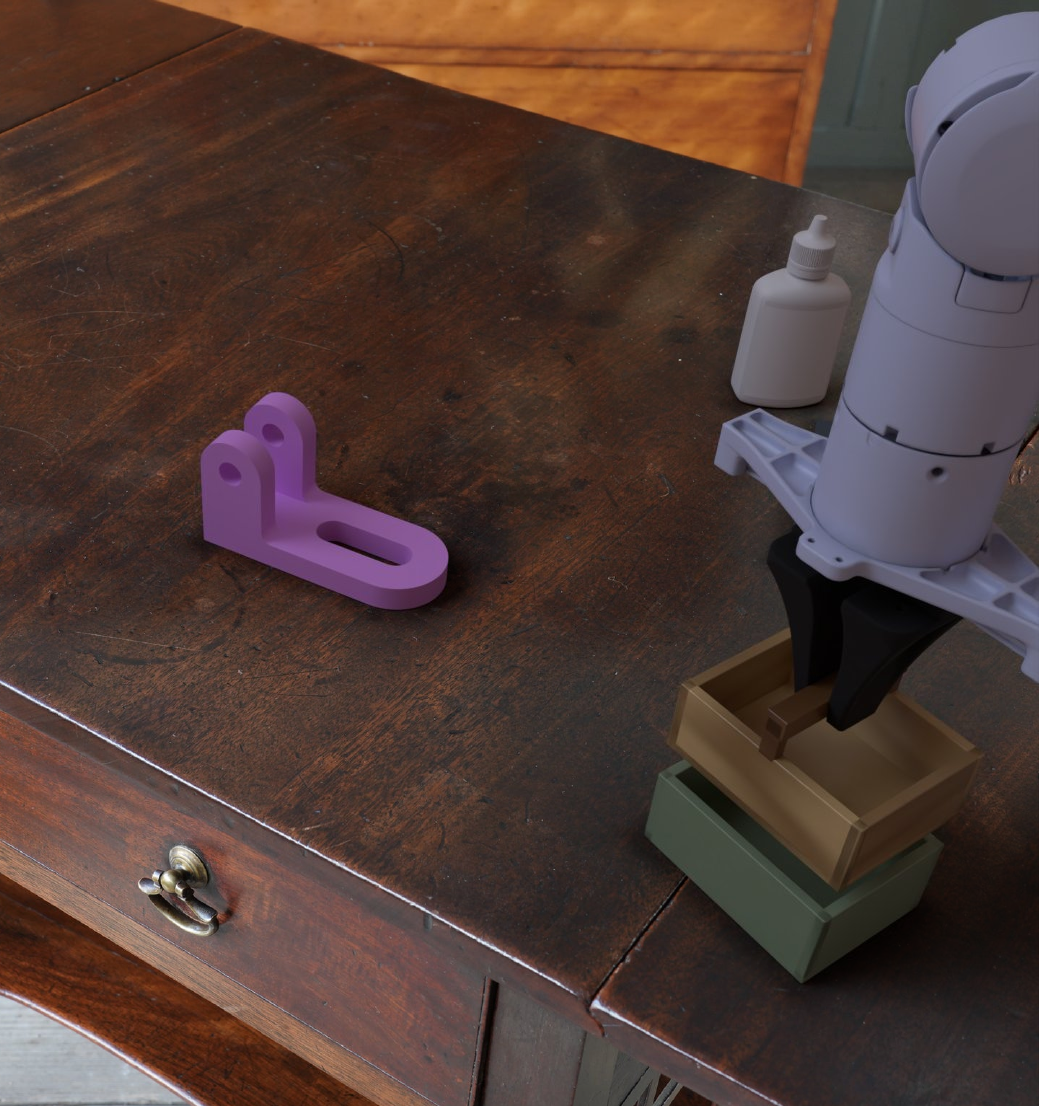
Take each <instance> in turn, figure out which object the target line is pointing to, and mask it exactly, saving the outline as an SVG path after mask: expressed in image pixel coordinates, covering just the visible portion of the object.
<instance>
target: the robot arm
mask: <svg viewBox="0 0 1039 1106" xmlns="http://www.w3.org/2000/svg"><path fill="white" fill-rule="evenodd" d="M904 122H905V132H906V137H907V142H908V144H909V148H910V151H911V153H912V154H913V165H914V173H915V175H914V176H912V177H910V178H909V179H908V180H907V182H906V185H905V189H904V192H903V196H902V198H901V202H900V206H899V208H898V210H897V211H896V212H895V214H894V216H893V219H892V221H891V224H890V229H889V234H888V246H887V248H886V249H885V250H884V252H883V254H882V256H881V257H880V259H879V260H878V263H877V264H876V268H875V270H874V275H873V278H872V282H871V286H870V290H869V293H868V297H867V300H866V303H865V307H864V309H863V310H864V311H863V313H862V314H863V315H862V318H861V321H860V325H859V329H858V332H857V336H856V339H855V342H854V344H853V345H854V346H853V349H852V353H851V356H850V359H849V362H848V363H849V364H848V367H847V370H846V373H845V378H844V381H843V383H842V389H841V392H840V396H839V400H838V403H837V407H836V410H835V413H834V416H833V421H832V422H833V424H832V427H831V431H830V434H829V438H827V437H824V436H821V435H818V434H815V433H814V432H812V431H810V430H807V429H804V428H802V427H799V426H797V425H794V424H792V423H789V422H787V421H785V420H783V419H781V418H778V417H776V416H775V415H772V414H771V413H770V412H768V411H766V410H764V409H762V408H761V407H758V408H756V409H753V410H750V411H749V412H746V413H743V414H742V415H739V416H736V417H735V418H733V419H730V420H728V421H726V422H723V423H722V426H721V430H720V435H719V439H718V443H717V448H716V452H715V457H714V462H713V465H714V466H715V467H717V468H719V470H721V471H723V472H725V473H726V474H727V475H729V476H732V477H738V476H741V475H744V474H745V473H746V474H748V475H749V476H750V477H752V478H754V479H755V480H757V481H758V482H760V483H761V484H762V485H764V486H766V487H767V489H769V491H770V492H771V494H772V495H773V496H774V497H775V499H776V500H777V501H778V502H779V504H780V505H781V506H782V507H783V509H785V511H786V512H787V513H788V515H789V516H790V517H791V518H792V520H793V522H794V521H795V522H796V523H797V524H794V525H793V524H792V527H793V528H792V527H791V531H789V532H788V533H786V534H783V535H781V536H779V537H777V538H776V539H774V540H773V541H772V542H771V543H770V545H769V549H768V551H767V552H768V553H767V556H766V565H767V567H768V568H769V571H770V572H771V574H772V576H773V578H774V581H775V583H776V585H777V587H778V590H779V593H780V596H781V599H782V602H783V605H784V608H785V612H786V617H787V621H788V626H789V627H790V633H791V640H792V650H793V664H794V690H795V693H797V692H799V691H800V690H802V689H804V688H806V687H808V686H809V685H811V684H813V683H815V682H817V681H819V680H820V679H822V678H824V677H826V676H828V675H829V674H831V673H833V672H835V671H837V670H838V669H839V673H838V676H837V678H836V681H835V684H834V687H833V690H832V693H831V696H830V699H829V703H828V710H827V717H826V722H827V723H829V724H830V725H831V726H833V727H834V728H835V729H836V730H838V731H842V732H843V731H845V730H847V729H848V728H850V727H852V726H853V725H855V724H857V723H859V722H860V721H862V720H864V719H866V718H867V717H869V716H871V715H872V714H874V713H875V712H876V710H877V708H878V707H879V705H880V704H881V702H882V701H883V699H884V698H885V696H886V695H887V693H888V692H889V690H890V689H891V688H892V686H893V685H894V684H895V683H896V681H897V680H898V679H899V678H900V676H901V675H902V674H903V675H904V674H905V673H906V672H905V671H906V669H907V668H908V669H909V667H910V666H911V665H912V664H913V663H914V662H916V660H917V659H918V658H919V657H920V656H921V655H922V654H923V653H924V652H925V651H927V649H929V647H930V646H932V645H933V644H934V643H935V642H936V641H938V640H939V639H940V638H941V637H942V636H944V634H946V633H947V632H949V631H950V630H951V629H952V628H953V627H955V626H956V625H957V624H959V623H960V622H961V621H963V620H964V619H965V620H967V621H968V622H970V624H972V625H974V626H975V627H977V628H978V629H980V630H981V631H982V632H984V633H986V634H987V635H989V636H990V637H992V638H994V640H996V641H998V642H999V643H1001V644H1002V645H1004V646H1005V647H1007V648H1009V649H1010V650H1011V651H1013V652H1014V653H1016V654H1017V655H1019V657H1022V658H1023V661H1022V663H1021V666H1020V671H1021V672H1022V673H1023V674H1024V675H1025V676H1026V677H1028V678H1029V679H1030V680H1032V681H1034V682H1035V683H1037V684H1038V685H1039V566H1038V565H1036V564H1035V563H1034V561H1032V559H1031V558H1030V557H1029V556H1028V555H1027V554H1026V553H1025V552H1024V550H1022V549H1021V548H1020V547H1019V546H1018V545H1017V544H1016V543H1015V542H1014V541H1013V540H1012V539H1011V538H1010V537H1009V536H1008V534H1006V533H1005V531H1004V530H1003V529H1002V528H1000V526H999V525H998V524H997V523H996V522H995V521H994V520H993V519H994V517H995V513H996V511H997V509H998V506H999V503H1000V500H1001V498H1002V496H1003V493H1004V490H1005V488H1006V486H1007V483H1008V480H1009V478H1010V475H1011V472H1012V469H1013V468H1014V464H1015V462H1016V459H1017V457H1018V454H1019V451H1020V449H1021V447H1022V444H1023V441H1024V438H1025V436H1026V433H1027V430H1028V427H1029V426H1030V422H1031V419H1032V418H1033V415H1034V412H1035V410H1036V407H1037V404H1038V401H1039V11H1034V10H1033V11H1021V12H1020V11H1019V12H1014V13H1010V14H1009V13H1008V14H1004V15H1001V16H997V17H995V18H992V19H989V20H986V21H984V22H982V23H980V24H978V25H975V26H974V27H972V28H971V29H968V30H967V31H965V32H964V33H963V34H961V35H959V36H958V37H956V38H955V44H954V45H953V46H951V47H950V49H948V50H947V51H946V50H945V49H943V50H942V51H941V52H940V53H939V54H938V55H937V56H936V57H935V58H934V60H933V61H932V62H931V64H930V65H929V66H928V68H927V69H926V71H925V73H924V74H923V76H922V78H921V79H920V81H919V83H918V84H917V85H913V86H911V87H910V88H909V89H908V91H907V94H906V99H905V106H904ZM789 627H788V628H789ZM908 669H907V670H908ZM904 672H905V673H904Z"/></svg>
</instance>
